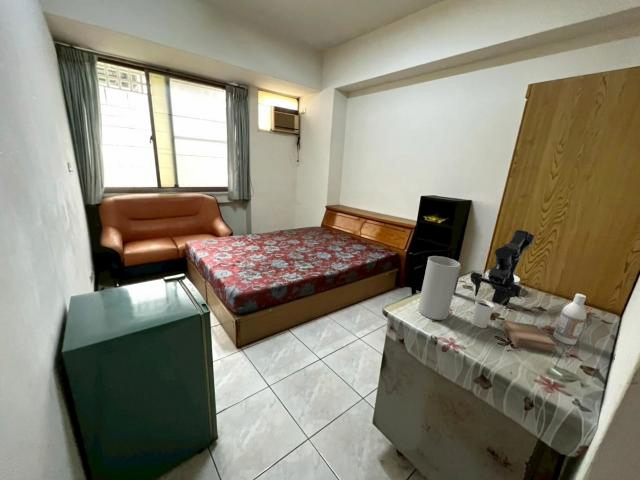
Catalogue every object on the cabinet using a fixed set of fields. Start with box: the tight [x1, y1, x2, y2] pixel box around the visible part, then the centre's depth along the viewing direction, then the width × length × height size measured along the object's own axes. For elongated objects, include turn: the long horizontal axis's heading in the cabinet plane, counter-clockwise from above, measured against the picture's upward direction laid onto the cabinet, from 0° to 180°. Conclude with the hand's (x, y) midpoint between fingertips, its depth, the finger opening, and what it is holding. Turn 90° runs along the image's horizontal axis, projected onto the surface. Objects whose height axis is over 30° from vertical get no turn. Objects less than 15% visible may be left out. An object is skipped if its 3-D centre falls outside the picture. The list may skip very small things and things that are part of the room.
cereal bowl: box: [484, 269, 521, 286], centre depth 152 cm, size 17×17×7 cm
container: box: [453, 266, 462, 296], centre depth 138 cm, size 5×5×15 cm
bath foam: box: [552, 293, 587, 346], centre depth 103 cm, size 7×7×20 cm
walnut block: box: [501, 320, 556, 354], centre depth 102 cm, size 12×12×4 cm
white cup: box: [471, 298, 495, 329], centre depth 111 cm, size 7×7×10 cm
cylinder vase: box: [417, 255, 461, 321], centre depth 115 cm, size 12×12×25 cm
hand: (487, 300), depth 111 cm, fingers open, 9 cm apart
